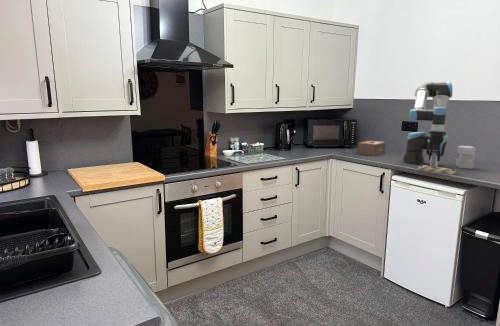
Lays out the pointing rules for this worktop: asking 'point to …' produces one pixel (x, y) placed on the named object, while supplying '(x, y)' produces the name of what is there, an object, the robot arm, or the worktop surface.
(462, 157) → the supplement box
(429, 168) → the tan flat oblong piece
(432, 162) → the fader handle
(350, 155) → the worktop surface
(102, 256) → the worktop surface
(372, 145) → the tissue box cover
